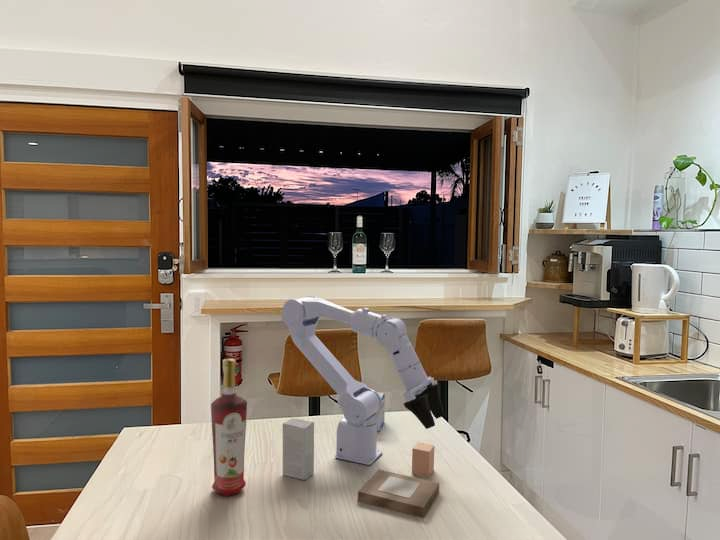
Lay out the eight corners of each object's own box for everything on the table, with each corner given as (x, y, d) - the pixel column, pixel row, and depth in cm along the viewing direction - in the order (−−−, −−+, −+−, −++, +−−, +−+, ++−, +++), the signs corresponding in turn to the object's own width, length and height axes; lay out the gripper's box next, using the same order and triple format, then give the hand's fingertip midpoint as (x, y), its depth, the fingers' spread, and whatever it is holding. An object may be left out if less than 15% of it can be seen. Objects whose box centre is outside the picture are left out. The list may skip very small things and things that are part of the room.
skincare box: (314, 473, 119) (315, 421, 118) (304, 481, 115) (305, 428, 114) (291, 467, 121) (292, 417, 120) (281, 475, 117) (281, 423, 116)
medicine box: (380, 431, 144) (380, 401, 143) (364, 430, 145) (364, 399, 144) (384, 421, 151) (385, 392, 151) (369, 420, 152) (370, 391, 152)
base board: (357, 500, 107) (357, 490, 107) (378, 477, 117) (378, 468, 117) (423, 517, 101) (423, 507, 101) (438, 492, 111) (439, 482, 111)
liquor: (215, 502, 105) (215, 366, 103) (207, 486, 111) (207, 357, 109) (250, 494, 108) (251, 362, 106) (241, 479, 115) (242, 354, 113)
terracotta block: (411, 473, 119) (412, 448, 119) (417, 466, 123) (418, 442, 122) (428, 477, 118) (429, 451, 117) (433, 470, 121) (434, 445, 121)
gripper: (413, 366, 113) (441, 425, 110) (432, 354, 126) (458, 406, 123) (386, 379, 115) (414, 436, 113) (408, 365, 128) (433, 417, 126)
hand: (435, 421), depth 118 cm, fingers open, 7 cm apart
